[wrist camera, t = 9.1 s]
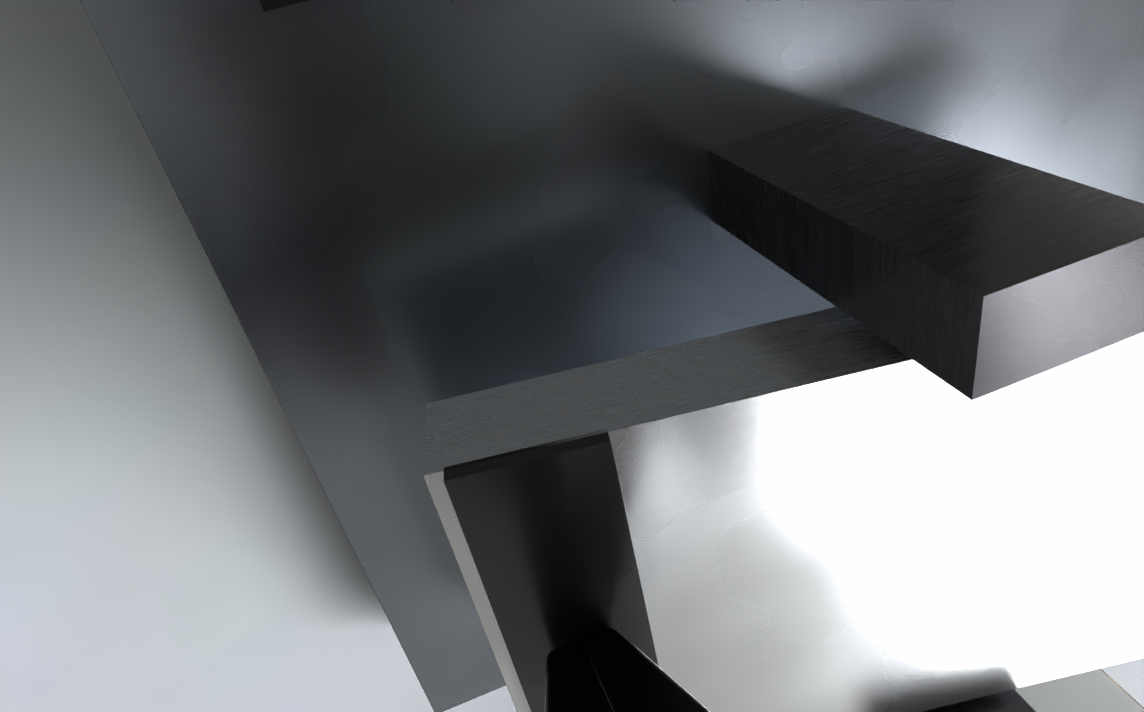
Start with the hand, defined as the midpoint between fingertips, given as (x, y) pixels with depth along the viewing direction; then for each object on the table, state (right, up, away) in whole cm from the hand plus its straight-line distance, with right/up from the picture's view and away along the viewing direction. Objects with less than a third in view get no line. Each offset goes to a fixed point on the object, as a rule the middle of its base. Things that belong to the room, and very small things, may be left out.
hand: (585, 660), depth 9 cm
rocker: (+4, +1, +1) cm, 5 cm away
